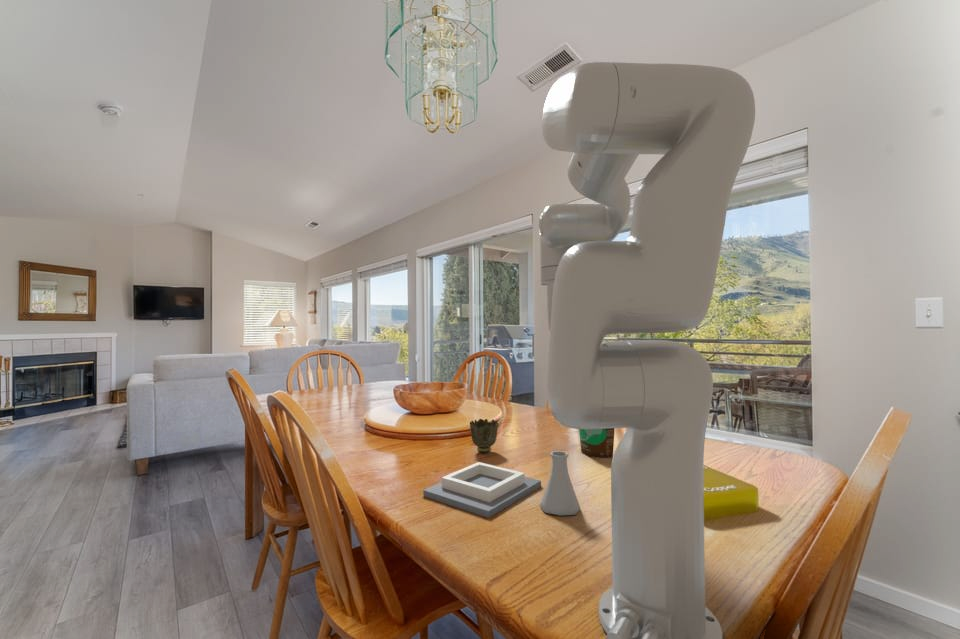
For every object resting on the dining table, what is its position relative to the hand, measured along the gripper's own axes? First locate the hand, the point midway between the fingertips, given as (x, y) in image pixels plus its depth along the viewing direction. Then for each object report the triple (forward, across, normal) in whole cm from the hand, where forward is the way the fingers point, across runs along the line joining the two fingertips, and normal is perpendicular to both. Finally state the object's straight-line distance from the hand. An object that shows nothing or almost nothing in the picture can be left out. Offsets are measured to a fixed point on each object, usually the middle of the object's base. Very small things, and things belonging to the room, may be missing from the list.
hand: (560, 361), depth 87 cm
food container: (+26, +26, -6) cm, 37 cm away
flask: (+26, -8, 0) cm, 27 cm away
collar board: (+26, -4, +15) cm, 30 cm away
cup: (+26, +22, +21) cm, 40 cm away
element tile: (+26, +1, -25) cm, 37 cm away
